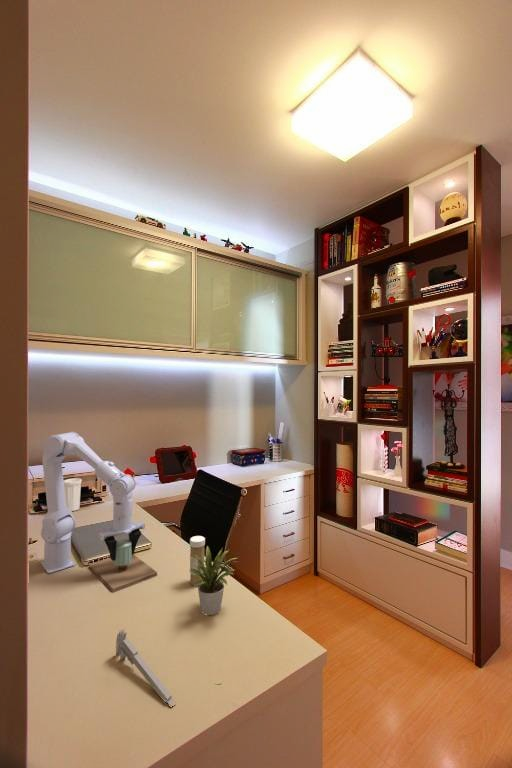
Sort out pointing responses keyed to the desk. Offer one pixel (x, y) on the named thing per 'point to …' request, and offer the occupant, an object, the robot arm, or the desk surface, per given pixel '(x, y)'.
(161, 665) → the desk surface
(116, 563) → the cap
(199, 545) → the sprinkles bottle
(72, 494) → the cup
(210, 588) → the house plant
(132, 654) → the caliper
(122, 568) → the tan cylinder
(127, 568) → the walnut board
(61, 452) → the robot arm
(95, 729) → the desk surface
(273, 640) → the desk surface
